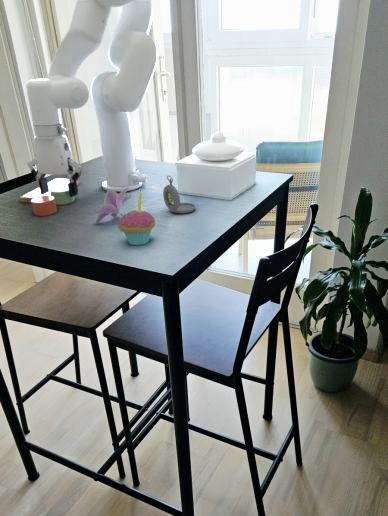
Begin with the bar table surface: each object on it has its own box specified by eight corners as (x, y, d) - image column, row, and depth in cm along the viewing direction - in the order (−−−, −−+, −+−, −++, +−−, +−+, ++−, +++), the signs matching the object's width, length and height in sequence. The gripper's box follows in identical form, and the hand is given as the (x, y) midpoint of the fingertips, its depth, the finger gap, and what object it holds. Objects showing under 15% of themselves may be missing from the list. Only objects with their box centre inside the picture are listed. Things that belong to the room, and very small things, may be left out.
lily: (141, 217, 130) (122, 184, 127) (149, 213, 119) (130, 177, 116) (103, 239, 128) (83, 206, 125) (108, 237, 117) (87, 201, 114)
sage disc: (78, 198, 143) (76, 186, 141) (67, 205, 138) (64, 192, 136) (60, 197, 145) (57, 185, 143) (48, 203, 140) (45, 191, 138)
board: (78, 184, 155) (78, 179, 155) (43, 203, 140) (42, 198, 139) (57, 182, 158) (56, 178, 157) (20, 202, 142) (19, 197, 142)
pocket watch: (198, 207, 132) (197, 169, 126) (188, 217, 125) (186, 178, 120) (171, 205, 134) (168, 168, 129) (159, 215, 128) (156, 177, 122)
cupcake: (141, 232, 118) (136, 182, 112) (164, 240, 113) (160, 189, 107) (113, 242, 114) (106, 191, 107) (136, 252, 109) (129, 199, 102)
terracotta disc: (61, 208, 136) (58, 196, 134) (48, 216, 131) (45, 203, 129) (42, 207, 138) (39, 194, 135) (28, 214, 133) (25, 202, 131)
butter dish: (230, 200, 136) (230, 140, 127) (176, 193, 143) (173, 136, 134) (256, 183, 148) (257, 127, 139) (205, 177, 156) (203, 124, 147)
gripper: (83, 129, 131) (92, 193, 140) (30, 127, 136) (41, 188, 145) (69, 134, 125) (78, 200, 134) (13, 132, 130) (26, 195, 139)
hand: (59, 194), depth 140 cm, fingers open, 9 cm apart
